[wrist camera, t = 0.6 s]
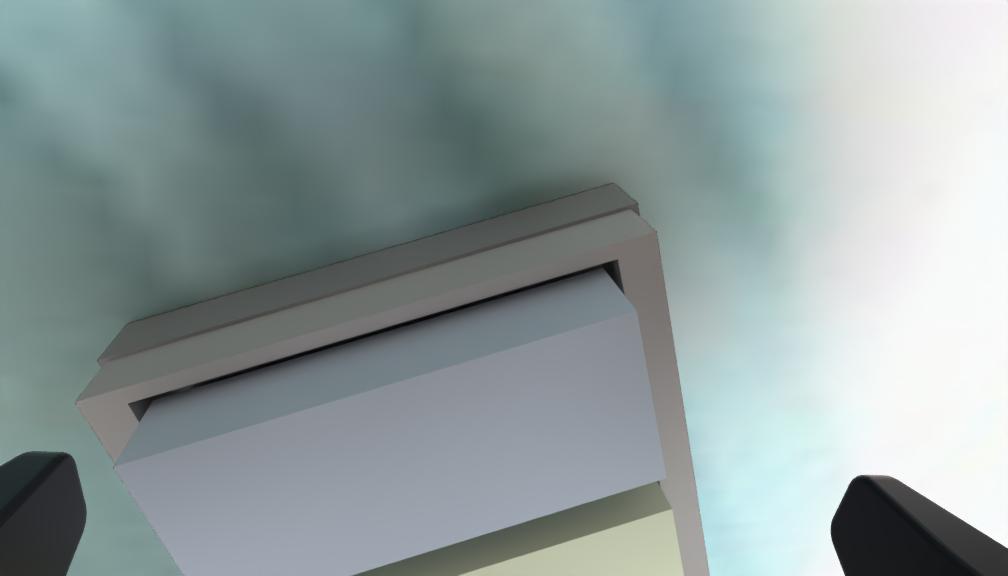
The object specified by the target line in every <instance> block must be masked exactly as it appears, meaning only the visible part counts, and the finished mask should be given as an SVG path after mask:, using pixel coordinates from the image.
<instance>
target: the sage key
mask: <svg viewBox="0 0 1008 576" xmlns="http://www.w3.org/2000/svg"><path fill="white" fill-rule="evenodd" d="M352 576H684V572H683V566H682V561H681V555H680V550H679V544H678V539H677V533H676V527H675V522H674V516H673V511H672V508H671V506H670V504H669V502H668V500H667V499H666V497H665V495H664V493H663V491H662V489H661V488H660V486H659V484H658V482H657V481H656V482H652V483H649V484H646V485H643V486H640V487H636V488H633V489H630V490H627V491H623V492H620V493H617V494H614V495H610V496H607V497H604V498H601V499H597V500H594V501H591V502H588V503H585V504H581V505H578V506H575V507H572V508H568V509H565V510H562V511H559V512H555V513H552V514H549V515H546V516H542V517H539V518H536V519H533V520H530V521H526V522H523V523H520V524H517V525H513V526H510V527H507V528H504V529H500V530H497V531H494V532H491V533H487V534H484V535H481V536H478V537H475V538H471V539H468V540H465V541H462V542H458V543H455V544H452V545H449V546H445V547H442V548H439V549H436V550H432V551H429V552H426V553H423V554H420V555H416V556H413V557H410V558H407V559H403V560H400V561H397V562H394V563H390V564H387V565H384V566H381V567H377V568H374V569H371V570H368V571H365V572H361V573H358V574H355V575H352Z"/></svg>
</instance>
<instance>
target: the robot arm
mask: <svg viewBox="0 0 1008 576" xmlns="http://www.w3.org/2000/svg"><path fill="white" fill-rule="evenodd" d="M86 516H87V511H86V504H85V500H84V496H83V491H82V487H81V483H80V479H79V475H78V471H77V467H76V463H75V461H74V459H73V457H72V456H71V455H70V454H67V453H64V452H41V451H32V452H26V453H23V454H21V455H19V456H17V457H15V458H13V459H12V460H10V461H8V462H7V463H5V464H3V465H2V466H0V576H66V574H67V572H68V569H69V567H70V564H71V562H72V559H73V557H74V554H75V551H76V549H77V546H78V544H79V541H80V539H81V536H82V534H83V531H84V527H85V523H86ZM831 538H832V542H833V545H834V548H835V550H836V553H837V556H838V558H839V561H840V564H841V566H842V569H843V572H844V574H845V576H1008V548H1006V547H1004V546H1003V545H1001V544H1000V543H998V542H996V541H995V540H993V539H992V538H990V537H988V536H987V535H985V534H984V533H982V532H980V531H979V530H977V529H976V528H974V527H972V526H971V525H969V524H968V523H966V522H964V521H963V520H961V519H960V518H958V517H956V516H955V515H953V514H952V513H950V512H948V511H947V510H945V509H943V508H942V507H940V506H939V505H937V504H935V503H934V502H932V501H931V500H929V499H927V498H926V497H924V496H923V495H921V494H919V493H918V492H916V491H915V490H913V489H911V488H910V487H908V486H907V485H905V484H903V483H902V482H900V481H899V480H897V479H895V478H893V477H890V476H884V475H860V476H857V477H856V478H854V479H853V480H852V481H851V483H850V484H849V486H848V488H847V490H846V492H845V495H844V497H843V499H842V501H841V503H840V505H839V507H838V509H837V511H836V513H835V515H834V517H833V519H832V522H831Z"/></svg>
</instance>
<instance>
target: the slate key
mask: <svg viewBox="0 0 1008 576" xmlns="http://www.w3.org/2000/svg"><path fill="white" fill-rule="evenodd" d="M113 468H114V470H115V471H116V473H117V475H118V476H119V478H120V479H121V481H122V482H123V484H124V485H125V487H126V488H127V490H128V491H129V493H130V494H131V496H132V497H133V499H134V500H135V502H136V504H137V505H138V507H139V508H140V510H141V511H142V513H143V514H144V516H145V517H146V519H147V520H148V522H149V523H150V525H151V526H152V528H153V530H154V531H155V533H156V534H157V536H158V537H159V539H160V540H161V542H162V543H163V545H164V546H165V548H166V549H167V551H168V552H169V554H170V555H171V557H172V559H173V560H174V562H175V563H176V565H177V566H178V568H179V569H180V571H181V572H182V574H183V575H184V576H352V575H355V574H358V573H361V572H365V571H368V570H371V569H374V568H377V567H381V566H384V565H387V564H390V563H394V562H397V561H400V560H403V559H407V558H410V557H413V556H416V555H420V554H423V553H426V552H429V551H432V550H436V549H439V548H442V547H445V546H449V545H452V544H455V543H458V542H462V541H465V540H468V539H471V538H475V537H478V536H481V535H484V534H487V533H491V532H494V531H497V530H500V529H504V528H507V527H510V526H513V525H517V524H520V523H523V522H526V521H530V520H533V519H536V518H539V517H542V516H546V515H549V514H552V513H555V512H559V511H562V510H565V509H568V508H572V507H575V506H578V505H581V504H585V503H588V502H591V501H594V500H597V499H601V498H604V497H607V496H610V495H614V494H617V493H620V492H623V491H627V490H630V489H633V488H636V487H640V486H643V485H646V484H649V483H652V482H656V481H659V480H662V479H665V478H667V477H666V471H665V466H664V460H663V455H662V449H661V443H660V438H659V432H658V427H657V421H656V415H655V410H654V404H653V399H652V393H651V388H650V382H649V376H648V371H647V365H646V360H645V354H644V348H643V343H642V337H641V332H640V326H639V320H638V315H637V311H636V309H635V308H634V307H633V305H632V304H631V303H630V302H629V300H628V299H627V298H626V296H625V295H624V294H623V293H622V291H621V290H620V289H619V288H618V286H617V285H616V284H615V282H614V281H613V280H612V279H611V277H610V276H609V275H608V274H607V272H606V271H605V270H604V268H600V269H597V270H594V271H590V272H587V273H583V274H580V275H577V276H573V277H570V278H567V279H563V280H560V281H556V282H553V283H550V284H546V285H543V286H539V287H536V288H533V289H529V290H526V291H522V292H519V293H516V294H512V295H509V296H505V297H502V298H499V299H495V300H492V301H489V302H485V303H482V304H478V305H475V306H472V307H468V308H465V309H461V310H458V311H455V312H451V313H448V314H444V315H441V316H438V317H434V318H431V319H427V320H424V321H421V322H417V323H414V324H411V325H407V326H404V327H400V328H397V329H394V330H390V331H387V332H383V333H380V334H377V335H373V336H370V337H366V338H363V339H360V340H356V341H353V342H350V343H346V344H343V345H339V346H336V347H333V348H329V349H326V350H322V351H319V352H316V353H312V354H309V355H305V356H302V357H299V358H295V359H292V360H288V361H285V362H282V363H278V364H275V365H272V366H268V367H265V368H261V369H258V370H255V371H251V372H248V373H244V374H241V375H238V376H234V377H231V378H227V379H224V380H221V381H217V382H214V383H210V384H207V385H204V386H200V387H197V388H194V389H190V390H187V391H183V392H180V393H177V394H173V395H170V396H166V397H163V398H160V399H156V400H153V401H152V403H151V404H150V406H149V408H148V409H147V411H146V413H145V414H144V416H143V418H142V419H141V421H140V423H139V424H138V426H137V428H136V429H135V431H134V433H133V434H132V436H131V438H130V439H129V441H128V443H127V444H126V446H125V448H124V449H123V451H122V453H121V454H120V456H119V458H118V459H117V461H116V463H115V464H114V466H113Z"/></svg>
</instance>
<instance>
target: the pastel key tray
mask: <svg viewBox="0 0 1008 576" xmlns="http://www.w3.org/2000/svg"><path fill="white" fill-rule="evenodd" d="M600 268H604V270H605V271H606V272H607V274H608V275H609V276H610V277H611V279H612V280H613V281H614V282H615V284H616V285H617V286H618V288H619V289H620V290H621V291H622V293H623V294H624V295H625V296H626V298H627V299H628V300H629V302H630V303H631V304H632V305H633V307H634V308H635V309H636V311H637V315H638V320H639V326H640V332H641V337H642V343H643V348H644V354H645V360H646V365H647V371H648V376H649V382H650V388H651V393H652V399H653V404H654V410H655V415H656V421H657V427H658V432H659V438H660V443H661V449H662V455H663V460H664V466H665V471H666V477H667V478H665V479H662V480H659V481H657V482H658V484H659V486H660V488H661V489H662V491H663V493H664V495H665V497H666V499H667V500H668V502H669V504H670V506H671V508H672V511H673V516H674V522H675V527H676V533H677V539H678V544H679V550H680V555H681V561H682V566H683V572H684V576H710V574H709V568H708V561H707V555H706V548H705V542H704V535H703V529H702V522H701V516H700V509H699V503H698V497H697V490H696V484H695V477H694V471H693V464H692V458H691V451H690V445H689V438H688V432H687V425H686V419H685V412H684V406H683V399H682V393H681V386H680V380H679V374H678V367H677V361H676V354H675V348H674V341H673V335H672V328H671V322H670V315H669V309H668V302H667V296H666V289H665V283H664V276H663V270H662V263H661V257H660V250H659V244H658V238H657V231H656V230H654V229H653V228H652V227H651V226H650V225H649V224H648V223H646V222H645V221H644V220H643V219H642V218H641V217H640V214H639V208H638V203H637V202H636V201H635V200H634V199H632V198H631V197H630V196H629V195H627V194H626V193H625V192H624V191H623V190H621V189H620V188H619V187H618V186H617V185H615V184H614V183H612V184H608V185H605V186H602V187H598V188H595V189H591V190H588V191H584V192H581V193H577V194H574V195H571V196H567V197H564V198H560V199H557V200H553V201H550V202H546V203H543V204H539V205H536V206H533V207H529V208H526V209H522V210H519V211H515V212H512V213H508V214H505V215H502V216H498V217H495V218H491V219H488V220H484V221H481V222H477V223H474V224H470V225H467V226H464V227H460V228H457V229H453V230H450V231H446V232H443V233H439V234H436V235H433V236H429V237H426V238H422V239H419V240H415V241H412V242H408V243H405V244H402V245H398V246H395V247H391V248H388V249H384V250H381V251H377V252H374V253H370V254H367V255H364V256H360V257H357V258H353V259H350V260H346V261H343V262H339V263H336V264H333V265H329V266H326V267H322V268H319V269H315V270H312V271H308V272H305V273H301V274H298V275H295V276H291V277H288V278H284V279H281V280H277V281H274V282H270V283H267V284H264V285H260V286H257V287H253V288H250V289H246V290H243V291H239V292H236V293H232V294H229V295H226V296H222V297H219V298H215V299H212V300H208V301H205V302H201V303H198V304H195V305H191V306H188V307H184V308H181V309H177V310H174V311H170V312H167V313H163V314H160V315H157V316H153V317H150V318H146V319H143V320H139V321H136V322H132V323H129V324H126V326H125V327H124V328H123V329H122V331H121V332H120V333H119V334H118V335H117V337H116V338H115V339H114V340H113V341H112V343H111V344H110V345H109V346H108V348H107V349H106V350H105V351H104V352H103V354H102V355H101V356H100V357H99V358H98V360H97V362H98V363H99V365H100V367H101V370H100V371H99V372H98V373H97V375H96V376H95V377H94V378H93V380H92V381H91V382H90V383H89V385H88V386H87V387H86V388H85V390H84V391H83V392H82V394H81V395H80V396H79V397H78V399H77V400H76V401H75V404H76V405H77V407H78V408H79V410H80V411H81V413H82V414H83V416H84V417H85V419H86V420H87V422H88V424H89V425H90V427H91V428H92V430H93V431H94V433H95V434H96V436H97V437H98V439H99V440H100V442H101V444H102V445H103V447H104V448H105V450H106V451H107V453H108V454H109V456H110V457H111V459H112V460H113V462H114V464H115V463H116V461H117V459H118V458H119V456H120V454H121V453H122V451H123V449H124V448H125V446H126V444H127V443H128V441H129V439H130V438H131V436H132V434H133V433H134V431H135V429H136V428H137V426H138V424H139V423H140V421H141V419H142V418H143V416H144V414H145V413H146V411H147V409H148V408H149V406H150V404H151V403H152V401H153V400H156V399H160V398H163V397H166V396H170V395H173V394H177V393H180V392H183V391H187V390H190V389H194V388H197V387H200V386H204V385H207V384H210V383H214V382H217V381H221V380H224V379H227V378H231V377H234V376H238V375H241V374H244V373H248V372H251V371H255V370H258V369H261V368H265V367H268V366H272V365H275V364H278V363H282V362H285V361H288V360H292V359H295V358H299V357H302V356H305V355H309V354H312V353H316V352H319V351H322V350H326V349H329V348H333V347H336V346H339V345H343V344H346V343H350V342H353V341H356V340H360V339H363V338H366V337H370V336H373V335H377V334H380V333H383V332H387V331H390V330H394V329H397V328H400V327H404V326H407V325H411V324H414V323H417V322H421V321H424V320H427V319H431V318H434V317H438V316H441V315H444V314H448V313H451V312H455V311H458V310H461V309H465V308H468V307H472V306H475V305H478V304H482V303H485V302H489V301H492V300H495V299H499V298H502V297H505V296H509V295H512V294H516V293H519V292H522V291H526V290H529V289H533V288H536V287H539V286H543V285H546V284H550V283H553V282H556V281H560V280H563V279H567V278H570V277H573V276H577V275H580V274H583V273H587V272H590V271H594V270H597V269H600Z"/></svg>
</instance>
